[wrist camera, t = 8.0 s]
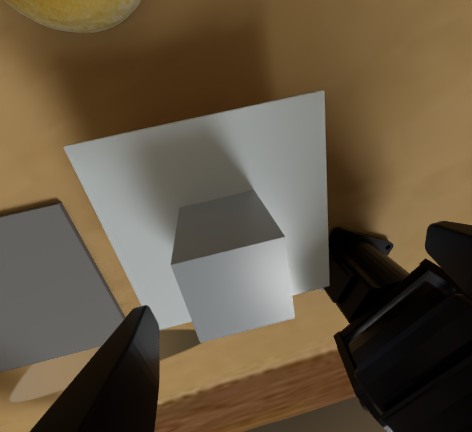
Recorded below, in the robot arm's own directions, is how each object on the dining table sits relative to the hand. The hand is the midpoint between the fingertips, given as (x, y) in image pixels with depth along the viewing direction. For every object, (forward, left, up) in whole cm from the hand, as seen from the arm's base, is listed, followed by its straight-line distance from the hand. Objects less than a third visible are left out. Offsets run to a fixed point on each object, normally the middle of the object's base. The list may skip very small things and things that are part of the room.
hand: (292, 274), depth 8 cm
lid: (+1, +2, -7) cm, 7 cm away
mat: (+14, +15, -12) cm, 24 cm away
